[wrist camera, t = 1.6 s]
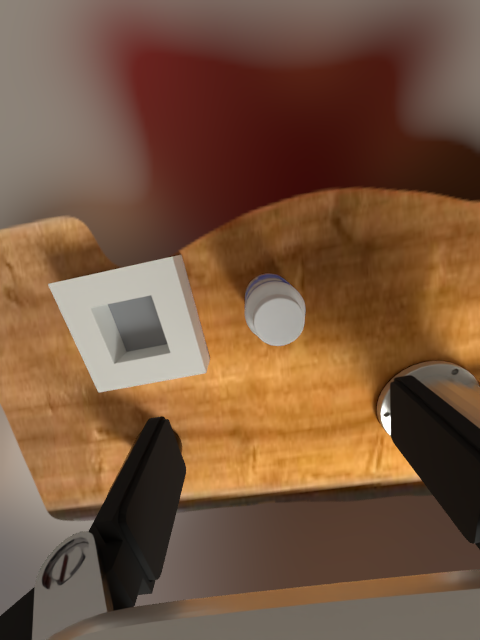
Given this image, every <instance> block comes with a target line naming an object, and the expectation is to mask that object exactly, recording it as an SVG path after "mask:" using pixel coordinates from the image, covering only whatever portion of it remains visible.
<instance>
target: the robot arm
mask: <svg viewBox="0 0 480 640" xmlns="http://www.w3.org/2000/svg"><path fill="white" fill-rule="evenodd" d="M377 416H378V420H379V422H380V424H381V426H382V427H383V428H384V429H385V431H386V432H387V433H388V434H389V435H390V436H391V438H392V440H393V442H394V444H395V445H396V447H397V448H398V449H399V451H400V452H401V453H402V454H403V456H404V457H405V458H406V460H407V461H408V462H409V464H410V465H411V466H412V468H413V469H414V470H415V472H416V473H417V474H418V476H419V477H420V478H421V480H422V481H423V482H424V484H425V485H426V486H427V488H428V489H429V490H430V492H431V493H432V494H433V496H434V497H435V498H436V500H437V501H438V502H439V504H440V505H441V506H442V508H443V509H444V510H445V511H446V513H447V514H448V516H449V517H450V518H451V520H452V521H453V522H454V524H455V525H456V526H457V528H458V529H459V530H460V532H461V533H462V534H463V536H464V537H465V538H466V539H467V540H468V541H469V542H470V543H475V544H476V545H477V547H478V548H479V549H480V387H479V383H478V381H477V380H476V378H475V377H474V376H473V375H472V374H471V373H470V372H469V371H467V370H466V369H464V368H462V367H461V366H459V365H456V364H454V363H451V362H446V361H428V362H422V363H419V364H416V365H413V366H411V367H409V368H407V369H405V370H403V371H401V372H400V373H399V374H397V375H396V376H394V377H393V378H392V379H391V380H390V381H389V382H388V383H387V385H386V386H385V387H384V389H383V390H382V392H381V394H380V396H379V399H378V403H377ZM185 475H186V466H185V463H184V460H183V457H182V454H181V452H180V449H179V446H178V444H177V441H176V438H175V435H174V433H173V430H172V427H171V425H170V422H169V420H168V419H165V418H164V417H156V418H150V419H149V420H148V421H147V423H146V425H145V427H144V429H143V430H142V432H141V434H140V436H139V438H138V440H137V442H136V444H135V446H134V447H133V449H132V451H131V453H130V455H129V457H128V459H127V460H126V462H125V464H124V466H123V468H122V470H121V471H120V473H119V475H118V477H117V479H116V481H115V483H114V485H113V487H112V488H111V490H110V492H109V494H108V496H107V498H106V500H105V502H104V503H103V505H102V507H101V509H100V511H99V513H98V515H97V517H96V518H95V520H94V522H93V524H92V526H91V528H90V530H89V532H79V533H76V534H73V535H72V536H70V537H69V538H67V539H65V540H64V541H63V542H62V543H61V544H59V545H58V546H57V547H56V548H55V549H54V550H53V552H52V553H51V554H50V555H49V556H48V557H47V559H46V560H45V562H44V563H43V565H42V566H41V568H40V571H39V573H38V575H37V577H36V583H35V587H34V588H33V589H32V590H31V591H29V592H28V593H27V594H26V595H24V596H23V597H22V598H21V599H20V600H19V601H17V602H16V603H15V604H14V605H13V606H12V607H10V608H9V609H8V610H7V611H6V612H5V613H3V614H2V615H1V616H0V640H480V569H477V570H465V571H454V572H444V573H434V574H425V575H414V576H404V577H394V578H384V579H373V580H364V581H355V582H345V583H335V584H326V585H316V586H308V587H298V588H288V589H279V590H271V591H260V592H252V593H243V594H235V595H225V596H216V597H209V598H208V597H207V598H198V599H190V600H181V601H173V602H166V603H159V604H152V605H145V606H137V607H134V606H135V602H136V599H137V596H138V595H142V594H151V593H152V591H153V588H154V584H155V580H157V579H158V578H159V577H160V575H161V572H162V568H163V564H164V560H165V556H166V552H167V548H168V544H169V540H170V536H171V532H172V528H173V524H174V520H175V515H176V511H177V507H178V503H179V499H180V495H181V491H182V487H183V483H184V479H185Z"/></svg>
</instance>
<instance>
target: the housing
mask: <svg viewBox="0 0 480 640" xmlns="http://www.w3.org/2000/svg"><path fill="white" fill-rule="evenodd" d="M48 285H49V287H50V289H51V292H52V294H53V296H54V298H55V300H56V302H57V305H58V307H59V309H60V311H61V313H62V315H63V317H64V320H65V322H66V324H67V326H68V328H69V330H70V332H71V335H72V337H73V339H74V341H75V343H76V345H77V347H78V350H79V352H80V354H81V356H82V358H83V360H84V363H85V365H86V367H87V369H88V371H89V373H90V375H91V378H92V380H93V382H94V384H95V386H96V388H97V390H98V393H99V392H105V391H110V390H116V389H121V388H127V387H132V386H138V385H143V384H149V383H154V382H160V381H165V380H171V379H176V378H182V377H187V376H193V375H198V374H204V373H206V372H207V368H208V365H209V361H210V356H209V352H208V349H207V345H206V342H205V338H204V334H203V331H202V327H201V324H200V320H199V316H198V313H197V309H196V306H195V302H194V298H193V295H192V291H191V288H190V284H189V280H188V277H187V273H186V270H185V266H184V262H183V259H182V255H177V256H172V257H168V258H163V259H159V260H154V261H150V262H146V263H142V264H137V265H132V266H127V267H123V268H118V269H114V270H109V271H105V272H100V273H96V274H91V275H87V276H82V277H78V278H73V279H68V280H64V281H59V282H55V283H50V284H48Z"/></svg>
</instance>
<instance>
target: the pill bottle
mask: <svg viewBox="0 0 480 640" xmlns="http://www.w3.org/2000/svg"><path fill="white" fill-rule="evenodd" d="M305 313H306V308H305V303H304V300H303V298H302V296H301V295H300V293H299V292H298V291H297V290H296V289H295V288H294V287H293V286H292V285H290V284H289V283H288V282H287V281H286V280H285V279H284V278H282V277H281V276H279V275H276V274H271V273H267V274H261V275H259V276H257V277H255V278H254V279H253V280H252V281H251V282H250V283H249V285H248V286H247V289H246V292H245V319H246V322H247V325H248V326H249V328H250V329H251V331H252V332H253V333H254V334H255V335H257V336H258V337H259V338H260V339H261V340H262V341H263V342H265V343H267V344H270V345H274V346H282V345H286V344H289V343H291V342H293V341H294V340H295V339H297V338H298V336H299V335H300V334H301V332H302V330H303V328H304V323H305Z"/></svg>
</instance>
